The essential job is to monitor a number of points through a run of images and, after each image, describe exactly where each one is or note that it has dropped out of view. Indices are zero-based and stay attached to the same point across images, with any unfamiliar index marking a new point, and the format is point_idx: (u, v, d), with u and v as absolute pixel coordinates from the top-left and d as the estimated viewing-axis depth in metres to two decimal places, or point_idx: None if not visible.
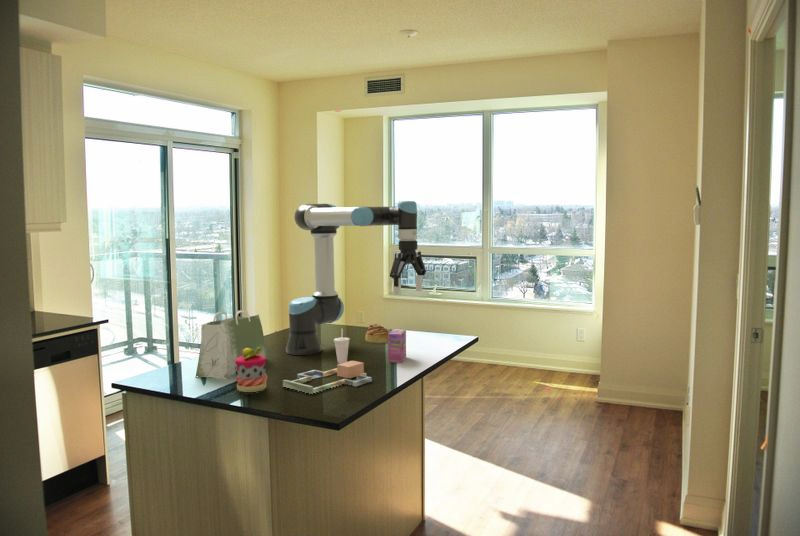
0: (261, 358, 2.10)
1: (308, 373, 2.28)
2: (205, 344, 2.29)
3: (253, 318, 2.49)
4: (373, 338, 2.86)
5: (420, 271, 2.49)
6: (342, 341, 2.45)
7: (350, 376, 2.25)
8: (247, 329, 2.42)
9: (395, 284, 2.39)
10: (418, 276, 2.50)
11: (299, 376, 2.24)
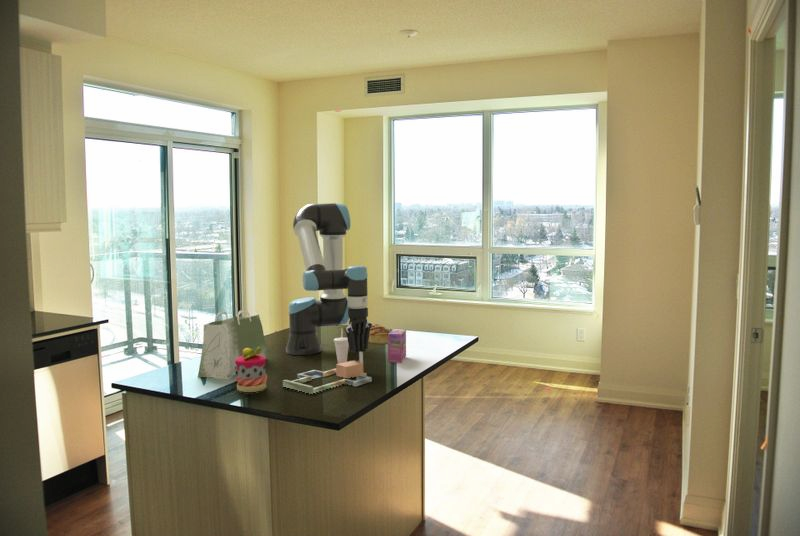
0: (261, 358, 2.10)
1: (308, 373, 2.28)
2: (207, 344, 2.29)
3: (254, 318, 2.49)
4: (374, 338, 2.85)
5: (362, 345, 2.31)
6: (342, 341, 2.45)
7: (347, 376, 2.24)
8: (249, 329, 2.42)
9: (356, 358, 2.30)
10: None
11: (299, 376, 2.24)
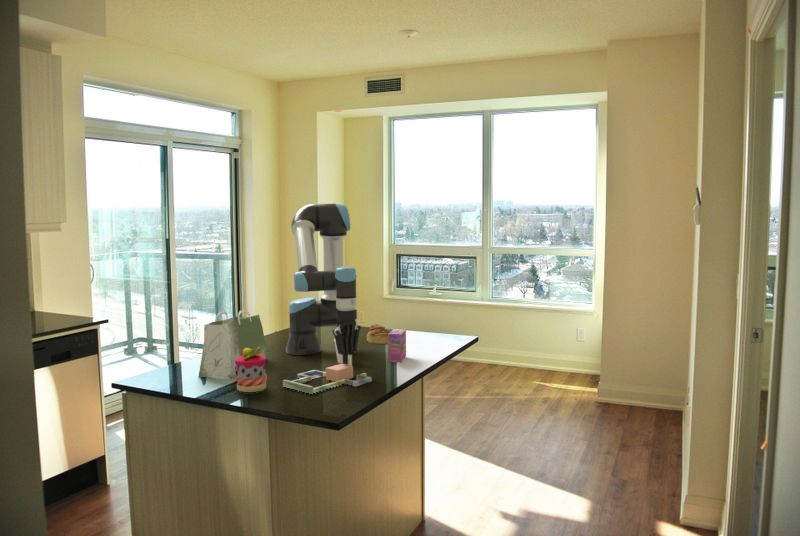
0: (261, 358, 2.10)
1: (308, 373, 2.28)
2: (208, 344, 2.29)
3: (254, 318, 2.49)
4: (374, 338, 2.85)
5: (351, 348, 2.27)
6: None
7: None
8: (249, 329, 2.42)
9: (344, 361, 2.26)
10: None
11: (299, 376, 2.24)
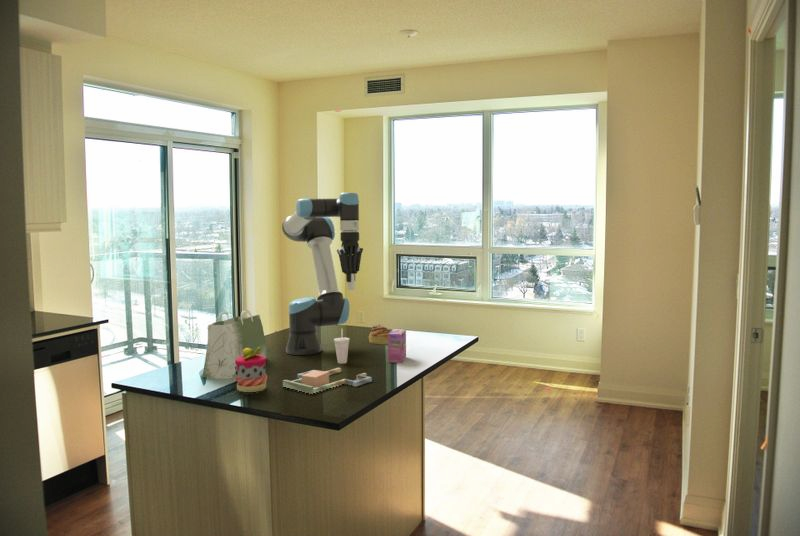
0: (261, 358, 2.10)
1: None
2: (212, 344, 2.28)
3: (255, 318, 2.49)
4: (377, 339, 2.83)
5: (354, 268, 2.47)
6: (342, 341, 2.45)
7: None
8: (251, 328, 2.42)
9: (348, 279, 2.46)
10: None
11: (299, 376, 2.24)
